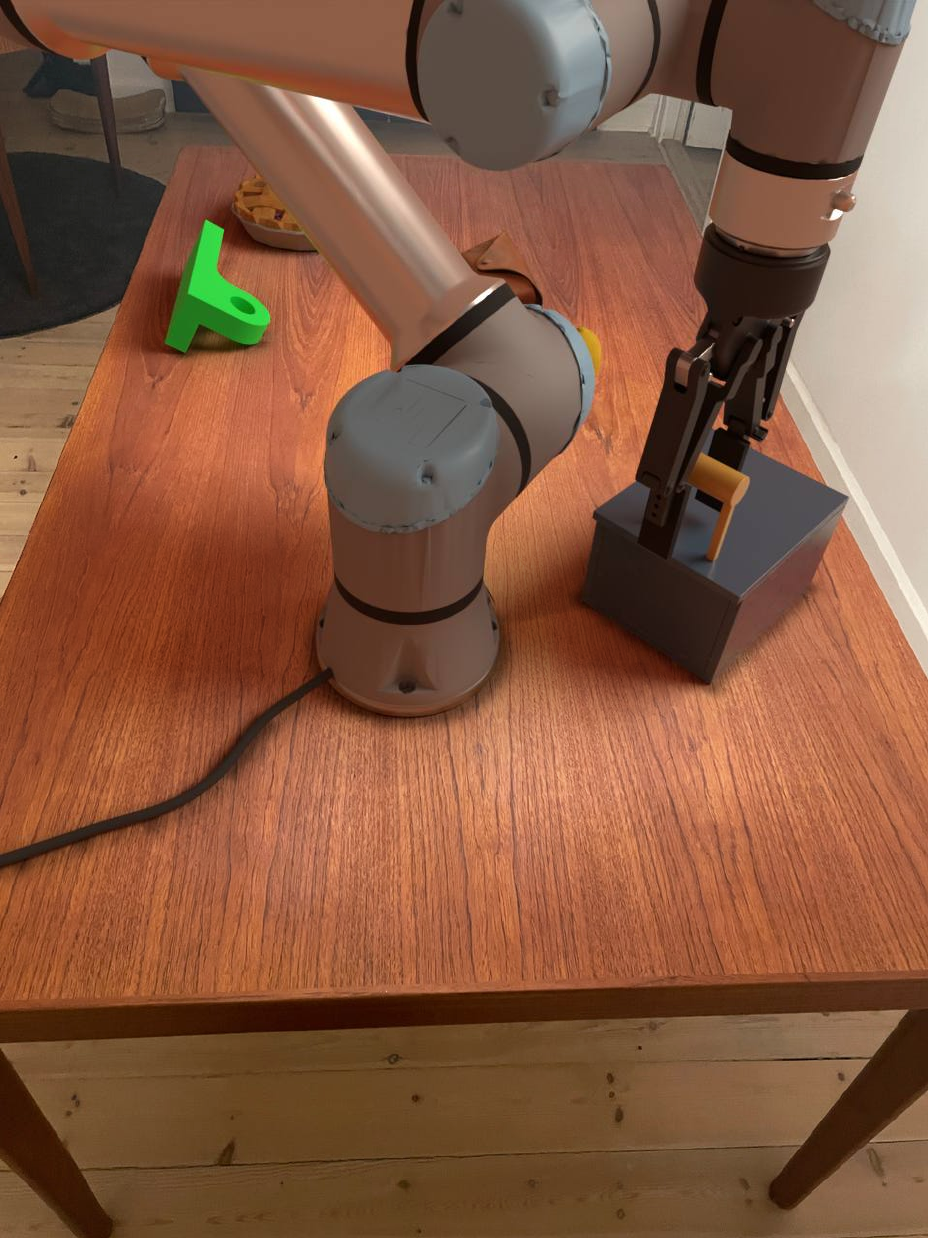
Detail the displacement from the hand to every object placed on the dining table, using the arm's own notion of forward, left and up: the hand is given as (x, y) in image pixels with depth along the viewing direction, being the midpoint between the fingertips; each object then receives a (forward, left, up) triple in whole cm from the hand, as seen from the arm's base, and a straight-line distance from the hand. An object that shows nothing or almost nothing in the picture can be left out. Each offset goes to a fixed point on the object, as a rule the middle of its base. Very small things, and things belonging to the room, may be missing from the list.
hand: (683, 525), depth 71 cm
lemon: (+25, +29, -12) cm, 41 cm away
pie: (+31, +84, -9) cm, 90 cm away
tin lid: (+7, 0, -2) cm, 7 cm away
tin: (+7, 0, -12) cm, 14 cm away
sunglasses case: (+38, +53, -12) cm, 67 cm away
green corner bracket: (-5, +67, -11) cm, 68 cm away
